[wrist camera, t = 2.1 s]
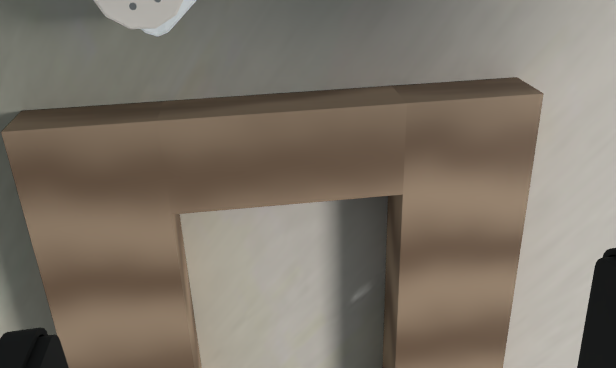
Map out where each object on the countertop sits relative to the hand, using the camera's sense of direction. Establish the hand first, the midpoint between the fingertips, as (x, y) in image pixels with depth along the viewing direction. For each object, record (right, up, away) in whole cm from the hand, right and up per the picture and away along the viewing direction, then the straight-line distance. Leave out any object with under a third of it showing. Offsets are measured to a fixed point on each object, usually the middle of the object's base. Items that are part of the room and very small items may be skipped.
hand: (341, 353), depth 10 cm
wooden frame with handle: (-2, -6, +27) cm, 28 cm away
